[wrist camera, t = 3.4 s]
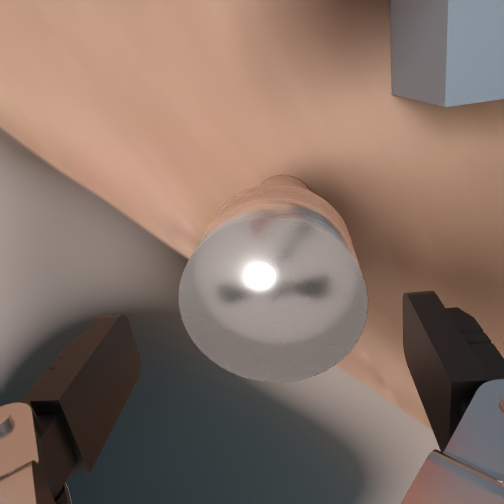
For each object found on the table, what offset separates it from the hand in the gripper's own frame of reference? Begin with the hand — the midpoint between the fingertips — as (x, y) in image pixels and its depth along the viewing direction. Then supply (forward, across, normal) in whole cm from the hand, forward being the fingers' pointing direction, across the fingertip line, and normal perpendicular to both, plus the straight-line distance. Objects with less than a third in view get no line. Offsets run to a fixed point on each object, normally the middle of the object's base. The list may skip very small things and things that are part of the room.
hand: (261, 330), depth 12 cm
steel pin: (+12, 0, 0) cm, 12 cm away
